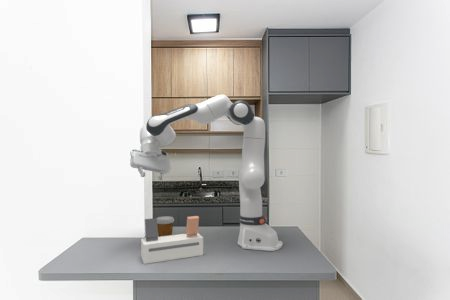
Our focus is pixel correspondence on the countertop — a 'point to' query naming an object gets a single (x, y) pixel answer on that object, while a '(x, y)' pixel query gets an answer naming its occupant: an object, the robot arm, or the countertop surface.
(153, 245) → the switch box
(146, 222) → the rocker charcoal
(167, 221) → the disposable coffee cup
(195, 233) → the rocker terracotta
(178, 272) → the countertop surface
